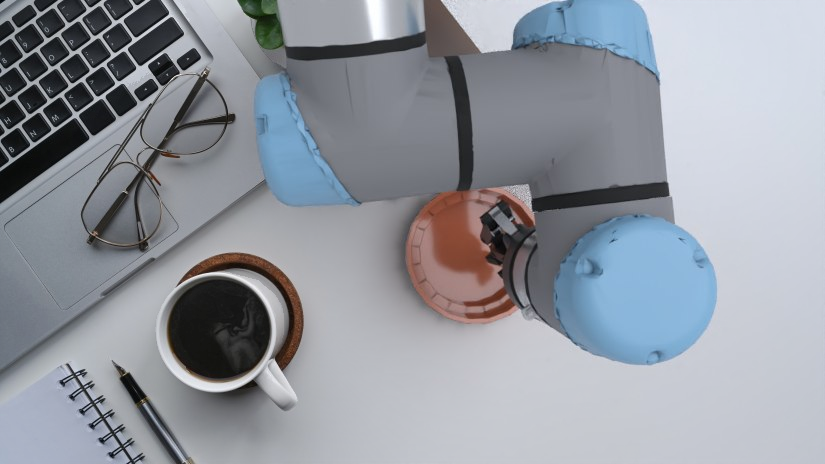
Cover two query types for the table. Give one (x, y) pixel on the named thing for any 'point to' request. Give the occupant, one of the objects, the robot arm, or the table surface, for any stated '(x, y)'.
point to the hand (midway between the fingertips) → (502, 260)
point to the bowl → (460, 255)
